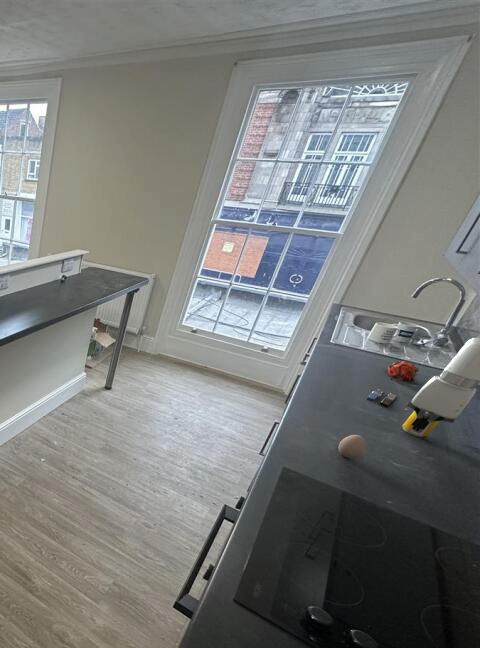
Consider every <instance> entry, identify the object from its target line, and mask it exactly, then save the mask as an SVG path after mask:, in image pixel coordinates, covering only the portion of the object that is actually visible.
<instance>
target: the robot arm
mask: <svg viewBox="0 0 480 648" xmlns="http://www.w3.org/2000/svg"><path fill="white" fill-rule="evenodd" d="M477 388H480V337H472V338H470V339H469V340H467V341H466V342H465V343H464V345H463V346H462V347H461V348H460V349H459V350H458V352H457V354H456V355H455V356H454V357H453V358H452V359H451V361H450V362H449V363H448V364H447V366H446V367H445V368H444V369H443V370H442V372H440V374H439V375H434V376H433V377H431V378H430V379H429V380H428V381H426V383H425V384H424V385H423V386H422V387H421V388H420V390H419V391H418V392H417V393H416V394H415V395H414V396H413V398H412V399H411V400H410V401H409V402H407V403H406V406H407V407H408V408H410V409H412V410H413V411H415V412H416V414H417V418H416V419H415V421H414V422H413V423H412V424H411V425H413V428H412V429H413V430H415V429H416V428H417V429H416V431H419V430H420V429H423V430H424V429H425V428H426V427H427V425H428V424H429V423H430V422H434V421H439V422H447V423H451V424H452V423H454V422H455V421H456V418H457V417H458V416H460V414H461V413H462V412H463V410H464V409H465V408H466V407H467V406H468V404H469V403H470V402H471V401H472V399H473V398H474V396H475V394H476V392H477ZM426 411H429V412H432V413H433V414H432V415H431V416H430V417H427V418H425V419H424V417H425V415H424V414H425V413H426ZM421 422H422V423H421ZM420 423H421V424H420ZM419 424H420V425H419Z"/></svg>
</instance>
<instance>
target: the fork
mask: <svg viewBox="0 0 480 648" xmlns="http://www.w3.org/2000/svg"><path fill="white" fill-rule="evenodd" d="M383 393H384V391H383V390H380V389H378V388H376V389H375V390H373V391H372V392H370V394H369V396H367V398H366V400H368V401H371V402H374V401H375V400H376V399H378V398H380V397H381V396H382V394H383Z"/></svg>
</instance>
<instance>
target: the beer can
mask: <svg viewBox="0 0 480 648" xmlns="http://www.w3.org/2000/svg"><path fill="white" fill-rule="evenodd" d="M432 414H433V413H432V412H429V411H426V413H425V414H424V415H425V417H424V419H425V418H427V417H430V416H431V415H432ZM416 418H417V414H416V412H415V410H413V412H412V413H411V414H410V416H408V418H407V419H406V420H405V421H404V423H403V424H402V429H403V431H404V432H406V433H408V434H410V435H413V436H415V437H419V438H423V437H426V436H428V435H429V434H430V433H431V432H432V431H433V430H434V428H435V427H436V426H437V425H438V424H439V422H440V421H434V422H430V423H429V424H428V425H427V427H426V428H425V429H424V430H423V429H420V430H419V431H416V429H417V428H416V429H415V430H413V429H412V428H413V425H411V424H412V423H413V422H414V421H415V419H416ZM421 423H422V422H421ZM421 423H420V424H421ZM420 424H419V425H420Z"/></svg>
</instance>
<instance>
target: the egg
mask: <svg viewBox="0 0 480 648" xmlns="http://www.w3.org/2000/svg"><path fill="white" fill-rule="evenodd" d="M366 448H367V442H366V439H365V438H364V437H363V436H362V435H359V434H350V435H348V436H346V437H344V438H342V439H341V441H340V442H339V444H338V452H339V454H340V455H341V456H342V455H343V456H342V457H344V458H346V457H347V459H355V458H358V457H360V456H362V455H363V454H364V452H365V451H366Z"/></svg>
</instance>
